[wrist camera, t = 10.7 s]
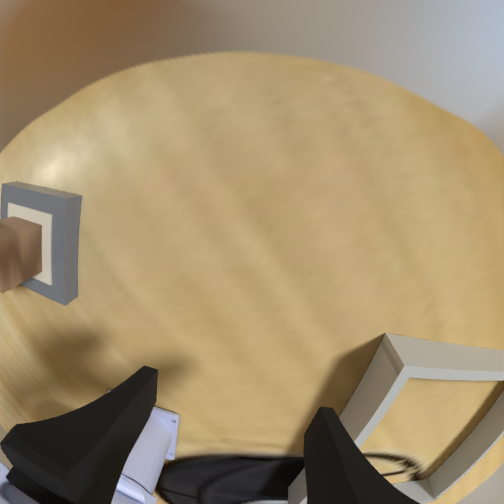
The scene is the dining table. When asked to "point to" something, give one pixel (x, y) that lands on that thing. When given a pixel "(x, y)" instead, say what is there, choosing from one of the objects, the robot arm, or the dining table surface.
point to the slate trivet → (49, 235)
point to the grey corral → (389, 386)
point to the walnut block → (19, 251)
